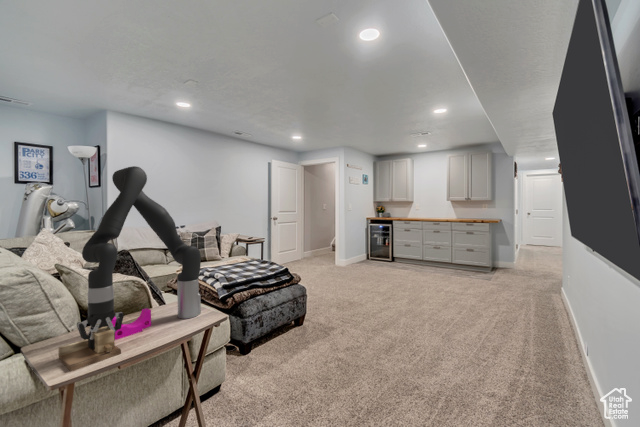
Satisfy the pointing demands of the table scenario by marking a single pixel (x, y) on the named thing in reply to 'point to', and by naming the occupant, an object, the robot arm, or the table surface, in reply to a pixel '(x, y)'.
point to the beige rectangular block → (104, 340)
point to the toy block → (134, 325)
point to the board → (82, 355)
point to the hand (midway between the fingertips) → (101, 345)
